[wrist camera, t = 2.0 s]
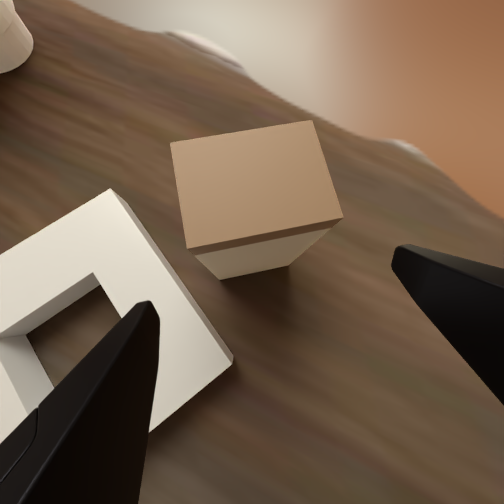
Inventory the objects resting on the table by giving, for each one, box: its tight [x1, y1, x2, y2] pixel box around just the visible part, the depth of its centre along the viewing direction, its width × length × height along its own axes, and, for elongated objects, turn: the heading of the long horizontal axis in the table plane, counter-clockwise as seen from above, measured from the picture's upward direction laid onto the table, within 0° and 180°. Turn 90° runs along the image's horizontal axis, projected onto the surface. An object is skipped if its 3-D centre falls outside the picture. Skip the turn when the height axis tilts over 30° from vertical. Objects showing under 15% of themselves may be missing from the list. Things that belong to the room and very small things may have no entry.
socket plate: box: [0, 188, 234, 443], centre depth 16 cm, size 16×16×2 cm
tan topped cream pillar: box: [170, 120, 343, 280], centre depth 14 cm, size 4×6×11 cm
